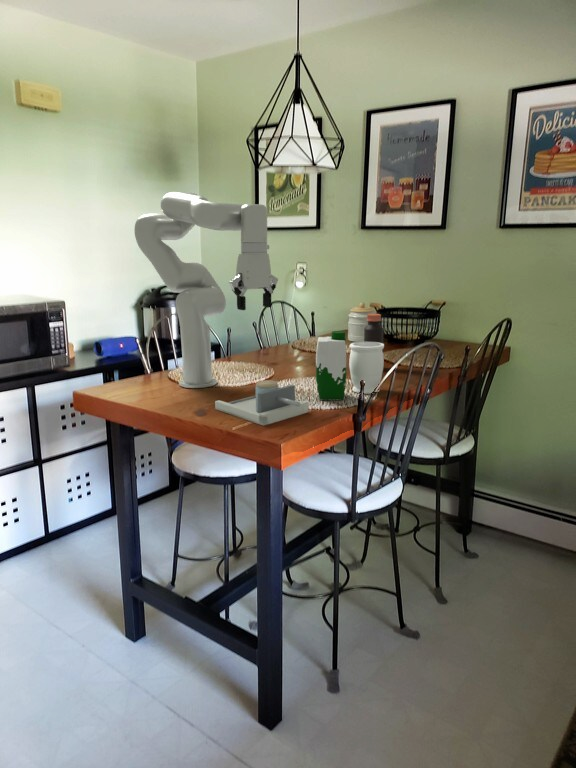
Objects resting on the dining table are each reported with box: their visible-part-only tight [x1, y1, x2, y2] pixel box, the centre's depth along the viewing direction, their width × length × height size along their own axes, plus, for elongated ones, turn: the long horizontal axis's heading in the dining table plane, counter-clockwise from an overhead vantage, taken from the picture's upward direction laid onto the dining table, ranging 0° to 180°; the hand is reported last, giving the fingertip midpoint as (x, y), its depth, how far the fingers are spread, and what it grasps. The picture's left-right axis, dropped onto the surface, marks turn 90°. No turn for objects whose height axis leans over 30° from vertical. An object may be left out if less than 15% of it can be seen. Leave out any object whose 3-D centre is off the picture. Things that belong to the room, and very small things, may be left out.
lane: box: [214, 394, 309, 426], centre depth 160 cm, size 21×16×3 cm
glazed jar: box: [254, 379, 280, 412], centre depth 157 cm, size 6×6×8 cm
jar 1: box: [347, 302, 375, 343], centre depth 266 cm, size 13×13×18 cm
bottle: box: [364, 313, 384, 353], centre depth 206 cm, size 7×7×20 cm
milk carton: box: [315, 330, 347, 400], centre depth 170 cm, size 9×9×20 cm
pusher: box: [258, 384, 301, 413], centre depth 151 cm, size 9×12×6 cm
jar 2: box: [348, 342, 385, 395], centre depth 177 cm, size 11×10×15 cm
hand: (254, 308), depth 168 cm, fingers open, 9 cm apart
